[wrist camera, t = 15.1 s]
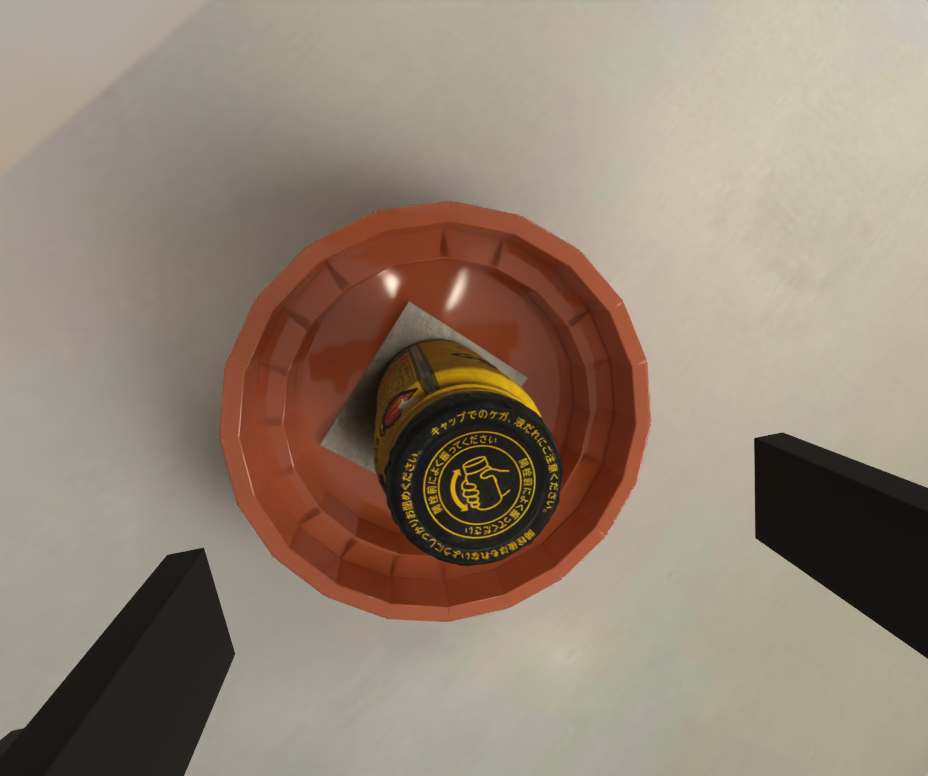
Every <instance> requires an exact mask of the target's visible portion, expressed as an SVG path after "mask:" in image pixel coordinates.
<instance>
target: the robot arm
mask: <svg viewBox="0 0 928 776" xmlns="http://www.w3.org/2000/svg"><path fill="white" fill-rule="evenodd" d="M754 451H755V536H756V539H758V540H759V541H760V542H762V543H763V544H765V545H766V546H768V547H769V548H770V549H772V550H773V551H775V552H776V553H778V554H779V555H780V556H782V557H783V558H785V559H786V560H788V561H789V562H790V563H792V564H793V565H795V566H796V567H798V568H799V569H800V570H802V571H803V572H805V573H806V574H808V575H809V576H810V577H812V578H813V579H815V580H816V581H818V582H819V583H820V584H822V585H823V586H825V587H826V588H828V589H829V590H830V591H832V592H833V593H835V594H836V595H838V596H839V597H840V598H842V599H843V600H845V601H846V602H848V603H849V604H850V605H852V606H853V607H855V608H856V609H858V610H859V611H860V612H862V613H863V614H865V615H866V616H868V617H869V618H870V619H872V620H873V621H875V622H876V623H878V624H879V625H880V626H882V627H883V628H885V629H886V630H888V631H889V632H890V633H892V634H893V635H895V636H896V637H898V638H899V639H900V640H902V641H903V642H905V643H906V644H908V645H909V646H910V647H912V648H913V649H915V650H916V651H918V652H919V653H920V654H922V655H923V656H925V657H926V658H928V488H926V487H924V486H921V485H918V484H916V483H913V482H911V481H908V480H905V479H903V478H900V477H898V476H895V475H892V474H890V473H887V472H884V471H882V470H879V469H877V468H874V467H871V466H869V465H866V464H864V463H861V462H858V461H856V460H853V459H850V458H848V457H845V456H843V455H840V454H837V453H835V452H832V451H830V450H827V449H824V448H822V447H819V446H816V445H814V444H811V443H809V442H806V441H803V440H801V439H798V438H796V437H793V436H790V435H788V434H785V433H778V434H773V435H768V436H763V437H758V438H754ZM234 656H235V652H234V648H233V645H232V642H231V638H230V635H229V632H228V628H227V625H226V621H225V618H224V615H223V611H222V608H221V604H220V601H219V598H218V594H217V591H216V587H215V584H214V581H213V577H212V574H211V570H210V567H209V564H208V560H207V557H206V554H205V550H204V548H200V549H195V550H190V551H185V552H180V553H175V554H170V555H167V556H166V557H165V558H164V560H163V561H162V562H161V563H160V564H159V566H158V567H157V568H156V569H155V570H154V572H153V573H152V574H151V575H150V577H149V578H148V579H147V580H146V581H145V583H144V584H143V585H142V586H141V587H140V589H139V590H138V591H137V592H136V594H135V595H134V596H133V597H132V598H131V600H130V601H129V602H128V603H127V604H126V606H125V607H124V608H123V609H122V611H121V612H120V613H119V614H118V615H117V617H116V618H115V619H114V620H113V621H112V623H111V624H110V625H109V626H108V628H107V629H106V630H105V631H104V632H103V634H102V635H101V636H100V637H99V638H98V640H97V641H96V642H95V643H94V645H93V646H92V647H91V648H90V649H89V651H88V652H87V653H86V654H85V655H84V657H83V658H82V659H81V660H80V662H79V663H78V664H77V665H76V666H75V668H74V669H73V670H72V671H71V672H70V674H69V675H68V676H67V677H66V679H65V680H64V681H63V682H62V683H61V685H60V686H59V687H58V688H57V689H56V691H55V692H54V693H53V694H52V696H51V697H50V698H49V699H48V700H47V702H46V703H45V704H44V705H43V706H42V708H41V709H40V710H39V711H38V713H37V714H36V715H35V716H34V717H33V719H32V720H31V721H30V722H29V723H28V725H27V726H26V727H25V728H23V729H19V730H14V731H11V732H10V733H9V734H7V735H6V736H5V737H4V738H3V739H1V740H0V776H184V774H185V772H186V770H187V767H188V765H189V763H190V760H191V758H192V755H193V753H194V751H195V748H196V746H197V744H198V741H199V739H200V736H201V734H202V732H203V729H204V727H205V725H206V722H207V720H208V717H209V715H210V713H211V710H212V708H213V706H214V703H215V701H216V698H217V696H218V694H219V691H220V689H221V687H222V684H223V682H224V679H225V677H226V675H227V672H228V670H229V667H230V665H231V663H232V660H233V658H234Z"/></svg>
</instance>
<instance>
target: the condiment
mask: <svg viewBox="0 0 928 776" xmlns="http://www.w3.org/2000/svg"><path fill="white" fill-rule="evenodd" d="M527 379H528V377H526V376H525V375H523V374H521V373H520V372H518V371H517V370H515V369H514V368H512V367H511V366H509V365H508V364H506V363H504V362H503V361H501V360H500V359H498V358H497V357H495V356H493V355H492V354H490V353H489V352H487V351H486V350H484V349H483V348H481V347H480V346H478V345H476V344H475V343H473V342H472V341H470V340H469V339H467V338H465V337H464V336H462V335H461V334H459V333H458V332H456V331H455V330H453V329H451V328H450V327H448V326H447V325H445V324H444V323H442V322H441V321H439V320H437V319H436V318H434V317H433V316H431V315H430V314H428V313H427V312H425V311H423V310H422V309H420V308H419V307H417V306H416V305H414V304H413V303H411V302H408V304H407V305H406V307H405V309H404V310H403V312H402V313H401V315H400V317H399V318H398V320H397V322H396V323H395V325H394V326H393V328H392V330H391V331H390V333H389V334H388V336H387V338H386V340H385V341H384V342H383V344H382V346H381V347H380V349H379V350H378V352H377V354H376V355H375V357H374V359H373V360H372V362H371V363H370V365H369V367H368V368H367V370H366V372H365V373H364V375H363V376H362V378H361V380H360V381H359V383H358V385H357V386H356V388H355V390H354V391H353V393H352V394H351V396H350V397H349V399H348V401H347V402H346V404H345V406H344V407H343V409H342V410H341V412H340V413H339V415H338V417H337V418H336V420H335V422H334V423H333V425H332V427H331V428H330V430H329V431H328V433H327V435H326V436H325V438H324V440H323V441H322V443H321V444H320V445H321V446H323V447H325V448H327V449H329V450H330V451H332V452H335V453H337V454H339V455H341V456H343V457H345V458H347V459H349V460H351V461H353V462H355V463H356V464H358V465H360V466H362V467H364V468H366V469H368V470H370V471H372V472H374V473H376V474H377V476H378V480H379V483H380V485H381V487H382V490H383V491H384V492H385V494H386V496H387V498H386V501H387V506H388V508H389V509H390V511H391V516H392V519H393V520H394V522H395V524H397V525H398V526H399V528H400V531H401V533H403V534H404V535H405V537H406V538H407V539H408V540H409V541H410V543H411V544H413V545H415V546H416V547H417V548H418V549H420V550H421V551H423V552H424V553H426V554H428V555H430V556H433V557H434V558H436V559H438V560H440V561H443V562H446V563H450V564H456V565H460V566H474V565H483V564H489V563H495V562H499V561H501V560H503V559H505V558H507V557H508V556H510V555H512V554H514V553H516V552H517V551H519V550H521V549H522V548H524V547H525V546H528V545H530V544H531V543H532V542H533V541H534V540H535V538H536V537H537V536H538V535H539V534H540V533H541V532H542V530H543V529H544V527H545V526H546V525H547V524H548V523H549V521H550V518H551V516H552V515H553V513H554V512H555V510H556V508H557V505H558V504H559V500H560V487H561V482H562V478H563V475H564V472H563V464H562V460H561V457H560V453H559V450H558V447H557V445H556V443H555V440H554V437H553V435H552V433H551V431H550V430H549V429H548V428H547V427H546V425H545V423H544V421H543V419H542V418H541V415H540V413H539V411H538V409H537V407H536V406H535V404H534V402H533V400H532V399H531V398H530V397H529V395H528V394H527V393H526V392H525V391H524V389H523V388H522V385H523V384H524V382H525V381H526V380H527Z"/></svg>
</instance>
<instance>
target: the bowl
mask: <svg viewBox="0 0 928 776" xmlns="http://www.w3.org/2000/svg"><path fill="white" fill-rule="evenodd" d="M408 302H411V303H413V304H414V305H416V306H417V307H419V308H420V309H422V310H423V311H425V312H427V313H428V314H430V315H431V316H433V317H434V318H436V319H437V320H439V321H441V322H442V323H444V324H445V325H447V326H448V327H450V328H451V329H453V330H455V331H456V332H458V333H459V334H461V335H462V336H464V337H465V338H467V339H469V340H470V341H472V342H473V343H475V344H476V345H478V346H480V347H481V348H483V349H484V350H486V351H487V352H489V353H490V354H492V355H493V356H495V357H497V358H498V359H500V360H501V361H503V362H504V363H506V364H508V365H509V366H511V367H512V368H514V369H515V370H517V371H518V372H520V373H521V374H523V375H525V376H526V377H528V379H527V380H526V381H525V382H524V384H523V385H522V388H523V389H524V391H525V392H526V393H527V394H528V395H529V397H530V398H531V399H532V400H533V402H534V404H535V406H536V407H537V409H538V411H539V413H540V415H541V418H542V419H543V421H544V423H545V425H546V427H547V428H548V429H549V430H550V431H551V433H552V435H553V437H554V440H555V443H556V445H557V447H558V450H559V453H560V457H561V460H562V464H563V472H564V475H563V478H562V482H561V487H560V500H559V504H558V505H557V508H556V510H555V512H554V513H553V515H552V516H551V518H550V521H549V523H548V524H547V525H546V526H545V527H544V529H543V530H542V532H541V533H540V534H539V535H538V536H537V537H536V538H535V540H534V541H533V542H532V543H531V544H530V545H528V546H525V547H524V548H522V549H521V550H519V551H517V552H516V553H514V554H512V555H510V556H508V557H507V558H505V559H503V560H501V561H499V562H495V563H489V564H483V565H474V566H460V565H456V564H450V563H446V562H443V561H440V560H438V559H436V558H434V557H433V556H430V555H428V554H426V553H424V552H423V551H421V550H420V549H418V548H417V547H416V546H415V545H413V544H411V543H410V541H409V540H408V539H407V538H406V537H405V535H404V534H403V533H401V531H400V528H399V526H398V525H397V524H395V522H394V520H393V519H392V516H391V511H390V509H389V508H388V506H387V501H386V498H387V496H386V494H385V492H384V491H383V490H382V487H381V485H380V483H379V480H378V476H377V474H376V473H374V472H372V471H370V470H368V469H366V468H364V467H362V466H360V465H358V464H356V463H355V462H353V461H351V460H349V459H347V458H345V457H343V456H341V455H339V454H337V453H335V452H332V451H330V450H329V449H327V448H325V447H323V446H321V445H320V444H321V443H322V441H323V440H324V438H325V436H326V435H327V433H328V431H329V430H330V428H331V427H332V425H333V423H334V422H335V420H336V418H337V417H338V415H339V413H340V412H341V410H342V409H343V407H344V406H345V404H346V402H347V401H348V399H349V397H350V396H351V394H352V393H353V391H354V390H355V388H356V386H357V385H358V383H359V381H360V380H361V378H362V376H363V375H364V373H365V372H366V370H367V368H368V367H369V365H370V363H371V362H372V360H373V359H374V357H375V355H376V354H377V352H378V350H379V349H380V347H381V346H382V344H383V342H384V341H385V340H386V338H387V336H388V334H389V333H390V331H391V330H392V328H393V326H394V325H395V323H396V322H397V320H398V318H399V317H400V315H401V313H402V312H403V310H404V309H405V307H406V305H407V304H408ZM225 366H226V367H225V371H224V384H223V396H222V408H221V420H220V432H219V436H220V442H221V445H222V449H223V453H224V457H225V460H226V464H227V468H228V472H229V475H230V479H231V483H232V486H233V490H234V494H235V498H236V501H237V502H238V503H237V505H238V506H239V507H240V509H241V510H242V512H243V513H244V515H245V516H246V518H247V519H248V521H249V522H250V524H251V525H252V526H253V528H254V529H255V531H256V532H257V534H258V535H259V537H260V538H261V540H262V541H263V543H264V544H265V546H266V547H267V548H268V550H269V551H270V553H271V554H272V556H273V557H274V558H276V559H277V560H278V561H279V562H281V563H282V564H283V565H284V566H286V567H287V568H288V569H290V570H291V571H292V572H294V573H295V574H296V575H298V576H299V577H300V578H302V579H303V580H304V581H306V582H307V583H308V584H310V585H311V586H312V587H313V588H315V589H316V590H317V591H319V592H320V593H321V594H323V595H324V596H327V597H328V598H330V599H333V600H336V601H339V602H342V603H344V604H347V605H350V606H353V607H356V608H358V609H361V610H364V611H367V612H370V613H372V614H375V615H378V616H381V617H384V618H385V617H386V619H400V620H419V621H438V622H448V621H449V622H450V621H455V620H459V619H463V618H468V617H472V616H476V615H481V614H485V613H489V612H494V611H498V610H502V609H507V608H508V607H509V608H510V607H512V606H514V605H515V604H517V603H519V602H521V601H523V600H525V599H526V598H528V597H530V596H532V595H534V594H536V593H538V592H539V591H541V590H543V589H545V588H547V587H549V586H550V585H552V584H554V583H556V582H558V581H560V580H561V579H562V577H564V576H566V575H567V574H568V573H569V572H570V571H571V570H572V569H573V568H574V567H575V566H576V565H577V564H578V563H579V562H580V561H581V560H582V559H583V558H584V557H585V556H586V555H587V554H588V553H589V552H590V551H591V550H592V549H593V548H594V547H595V546H596V545H597V544H599V543H600V542H601V541H602V540H603V539H604V538H605V535H607V534H608V532H609V531H610V529H611V527H612V525H613V524H614V522H615V520H616V518H617V517H618V515H619V513H620V512H621V510H622V508H623V506H624V505H625V503H626V501H627V499H628V498H629V496H630V494H631V492H632V491H633V489H634V487H635V485H636V482H637V481H638V476H639V472H640V468H641V464H642V460H643V456H644V451H645V447H646V443H647V439H648V435H649V431H650V426H651V424H650V423H651V412H650V396H649V381H648V366H647V361H646V357H645V355H644V352H643V350H642V347H641V345H640V342H639V340H638V337H637V335H636V332H635V330H634V327H633V325H632V322H631V320H630V317H629V315H628V312H627V310H626V307H625V305H624V303H623V300H622V299H621V298H620V297H619V296H618V294H617V293H616V292H615V291H614V290H613V288H612V287H611V286H610V285H609V284H608V283H607V281H606V280H605V279H604V278H603V277H602V276H601V274H600V273H599V272H598V271H597V270H596V268H595V267H594V266H593V265H592V264H591V263H590V261H589V260H588V259H587V258H586V257H585V256H584V254H583V253H582V252H580V250H579V249H577V248H575V247H573V246H572V245H570V244H568V243H567V242H565V241H563V240H562V239H560V238H558V237H557V236H555V235H553V234H552V233H550V232H548V231H546V230H545V229H543V228H541V227H540V226H538V225H536V224H535V223H533V222H531V221H530V220H528V219H526V218H525V217H523V216H520V215H517V214H512V213H507V212H502V211H497V210H492V209H487V208H482V207H478V206H473V205H468V204H463V203H458V202H453V201H450V202H449V201H445V202H438V203H430V204H422V205H415V206H407V207H400V208H392V209H385V210H378V211H376V212H372V213H370V214H368V215H366V216H364V217H362V218H360V219H358V220H356V221H354V222H352V223H350V224H348V225H346V226H344V227H342V228H340V229H338V230H336V231H334V232H332V233H330V234H328V235H326V236H324V237H322V238H320V239H318V240H316V241H314V242H312V243H310V244H309V246H306V247H305V248H304V249H303V250H302V251H301V252H300V253H299V254H298V256H297V257H296V258H295V259H294V260H293V261H292V262H291V263H290V264H289V265H288V266H287V267H286V268H285V269H284V270H283V271H282V272H281V273H280V274H279V275H278V276H277V277H276V278H275V279H274V280H273V281H272V282H271V283H270V284H269V285H268V287H267V288H266V289H265V290H264V291H263V292H262V293H261V294H260V295H259V296H258V297H257V299H256V300H255V301H254V303H253V305H252V307H251V310H250V312H249V314H248V316H247V318H246V320H245V323H244V325H243V327H242V329H241V331H240V334H239V336H238V338H237V340H236V342H235V345H234V347H233V349H232V351H231V353H230V356H229V358H228V360H227V362H226V364H225Z"/></svg>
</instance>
